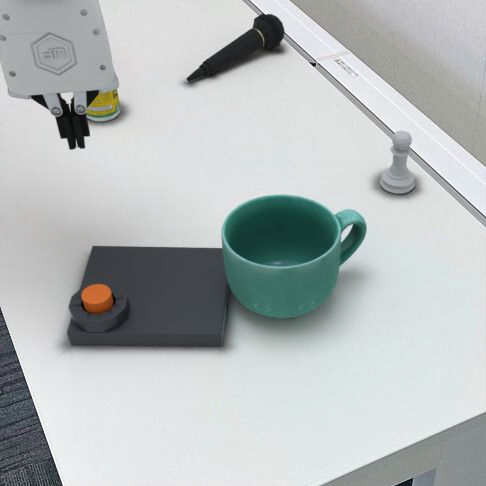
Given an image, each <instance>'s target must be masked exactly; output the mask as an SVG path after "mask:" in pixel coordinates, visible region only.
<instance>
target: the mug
mask: <svg viewBox="0 0 486 486" xmlns="http://www.w3.org/2000/svg"><path fill="white" fill-rule="evenodd" d="M350 226H351V228H350V230H349V231H348V234H347V235H346V236H345V237H344V239H342V234H343V232H344V231H345V230H346V229H347V228H348V227H350ZM221 227H222V228H221V248H222V249H223V259H224V266H225V272H226V277H227V281H228V284H229V290H230V291H231V292H232V294H233V296H234V298H236V299H237V301H238V302H239V303H240V304H241V305H243V306H244V307H245V308H247V309H248V310H250V311H252V312H254V313H256V314H259V315H262V316H265V317H270V318H276V319H277V318H278V319H284V318H285V319H287V318H289V319H290V318H295V317H299V316H303V315H305V314H308V313H310V312H313V311H315V310H316V309H317V308H319V307H320V306H322V305H323V304H324V303H325V302H326V301H327V300H328V299H329V298H330V296H331V295H332V294H333V292H334V290H335V288H336V285H337V284H338V283H337V282H338V279H339V273H340V267H341V266H342V265H344V264H345V263H346V262H347V261H348V260H349V259H350V258H351V257H352V256H353V255H354V254H355V253H356V252H357V250H358V249H359V248H360V247H361V245H362V244H363V242H364V240H365V238H366V235H367V230H368V229H367V222H366V220H365V218H364V217H363V215H362V214H361V213H359V212H358V211H356V210H355V209H352V208H345V209H342V210H340V211H337V212H336V213H335V214H334V213H333V211H331V210H330V209H329V208H328V207H327V206H325V205H324V204H322V203H320V202H319V201H316V200H314V199H311V198H308V197H305V196H300V195H295V194H284V193H283V194H269V195H262V196H258V197H254V198H252V199H249V200H246V201H244V202H243V203H241V204H239V205H237V206H236V207H235V208H233V209H232V210H231V211H230V212H229V213H228V215H227V216H226V217H225V219H224V221H223V223H222V226H221Z"/></svg>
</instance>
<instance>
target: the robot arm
mask: <svg viewBox="0 0 486 486" xmlns="http://www.w3.org/2000/svg"><path fill="white" fill-rule="evenodd" d="M0 66H1V70H2V74H3V78H4V80H5V81H4V82H5V84H6V86H7V95H8V96H9V97H10V98H13V99H22V100H33V102H35V103H37V104H39V105H40V106H42V107H44V108H45V109H47V110H48V111H49V112H50V114H51V115H52V116H53V117H54V118H55V121H56V126H57V130H58V133H59V138H60V139H61V140H63V139H66V140H67V145H68V149H69V150H70V151H73V150H76V149H77V148H78V149H80V150H82V149H86V141H85V138H87V137H91V130H90V125H89V121H88V118H87V115H86V111H87V108H88V106H89V105H90V104H91V103H92V102H93V101H94V99H95V98H96V97H97V96H98V94H101V93H102V94H103V93H106V92H109V91H113V90H116V89H117V90H118V89H119V87H120V81H119V77H118V75H117V73H116V70H115V69H114V63H113V56H112V50H111V46H110V41H109V37H108V30H107V28H106V22H105V20H104V15H103V12H102V7H101V4H100V1H99V0H0ZM67 93H68V94H69V93H72V97H71V98H70V103H68V102H67V100H66V99H65V98H63V96H62V94H67Z"/></svg>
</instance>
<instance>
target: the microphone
mask: <svg viewBox="0 0 486 486" xmlns="http://www.w3.org/2000/svg"><path fill="white" fill-rule="evenodd" d="M285 32H286V31H285V26H284V23H283V22H282V20H281V19H280V18H279V17H278V16H276V15H275V14H272V13H266V14H265V13H261V14H259V15H257V16H256V17H255V18H254V19H253V24H252V27H251V28H250V29H248V30H247V31H246V32H244V33H242V34H240V36H238V37H237V38H235V39H234V40H232V41H231V42H229V43H228V44H227V45H225V46H223V47H222V48H220V49H219V50H218V51H216V52H215V53H214V54H212V55H211V56H209V57H208V58H206V59H205V60H204V61H202V63H201V64H200V65H199V66H198V68H196V69H195V70H194V71H193V72H192V73H191V74H189V75H188V76H187V77H186V81H187V82H188V83H189V82H192V81H195V80H197V79H200V78H202V77H205V78H206V77H207V76H212V75H213V74H215V73H217V72H220V71H221V70H223V69H226V68H227V67H228V66H231V65H232V64H234V63H236V62H238V61H241V60H242V59H244V58H245V57H248V56H249V55H252V54H253V53H256V52H257V51H259V50H261V49H263V48H264V49H267V50H270V51H272V50H274V49H276V48H278V47H280V46H281V42H283V39H284V38H285Z"/></svg>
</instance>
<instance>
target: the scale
mask: <svg viewBox="0 0 486 486" xmlns="http://www.w3.org/2000/svg"><path fill="white" fill-rule="evenodd" d="M95 284H102V285H106V286H107V287H109V288H110V290H111V293H112V298H113V302H114V303H113V306H112V308H111V309H110V310H109V311H107V312H104V313H101V314H92V313H89V312H87V311H86V310H85V308H84V304H83V301H82V297H81V295H82V292H83V290H84V289H85V288H87V287H89V286H91V285H95ZM229 291H230V287H229V284H228V281H227V277H226V272H225V266H224V259H223V249H222V247H190V246H188V247H186V246H185V247H184V246H181V247H180V246H133V245H132V246H129V245H128V246H125V245H92V247H91V250H90V253H89V257H88V261H87V264H86V267H85V270H84V273H83V277H82V280H81V285H80V287H79V290H77V291H76V292H75V293H74V294H73V295H71V296H70V300H69V303H68V310H69V313H70V321H69V324H68V327H67V331H66V335H67V337H68V341H69V343H70V345H71V346H72V345H73V346H74V345H76V346H77V345H78V346H161V347H163V346H165V347H166V346H167V347H168V346H174V347H175V346H176V347H223V346H224V337H225V329H226V328H225V327H226V320H227V310H228V302H229V301H228V300H229Z"/></svg>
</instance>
